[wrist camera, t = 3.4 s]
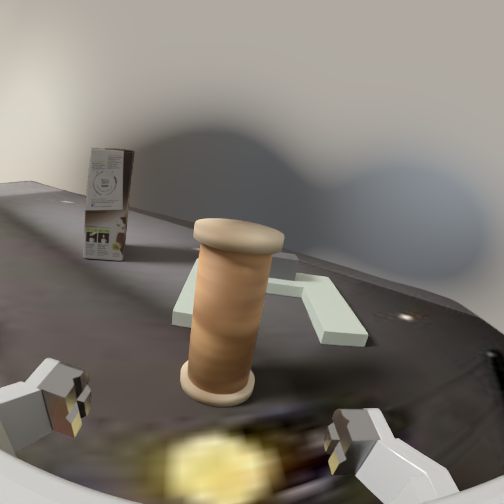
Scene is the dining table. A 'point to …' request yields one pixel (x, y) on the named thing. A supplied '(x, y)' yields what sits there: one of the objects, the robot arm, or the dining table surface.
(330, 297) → the notched board
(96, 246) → the coffee box
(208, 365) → the bobbin
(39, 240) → the dining table surface
